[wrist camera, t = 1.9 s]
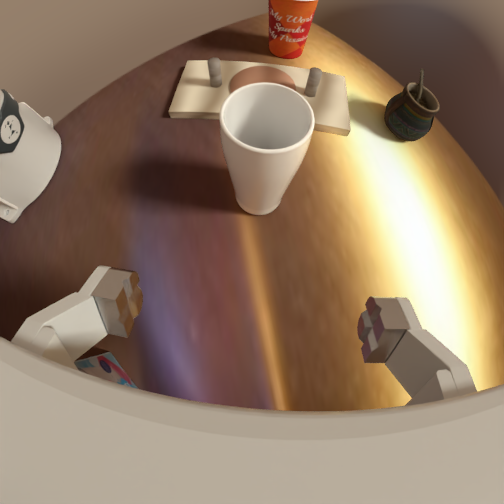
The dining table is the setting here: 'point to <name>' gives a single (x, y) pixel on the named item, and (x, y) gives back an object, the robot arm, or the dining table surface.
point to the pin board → (244, 73)
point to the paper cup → (289, 26)
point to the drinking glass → (264, 142)
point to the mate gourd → (411, 111)
